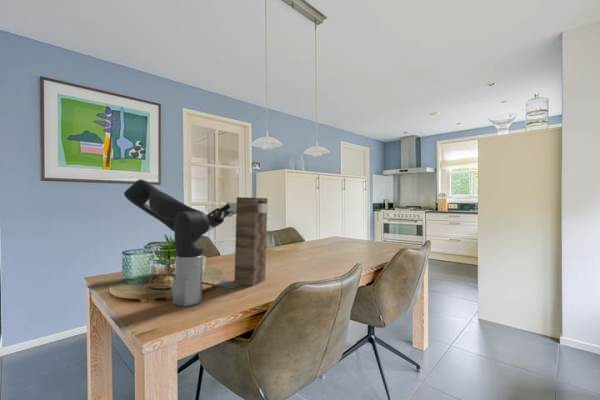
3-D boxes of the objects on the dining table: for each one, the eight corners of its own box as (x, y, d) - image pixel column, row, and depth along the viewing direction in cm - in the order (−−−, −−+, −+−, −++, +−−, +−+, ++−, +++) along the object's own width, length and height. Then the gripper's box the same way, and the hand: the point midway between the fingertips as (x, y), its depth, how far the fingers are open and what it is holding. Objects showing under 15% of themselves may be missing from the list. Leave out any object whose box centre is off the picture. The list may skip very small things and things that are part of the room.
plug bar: (261, 212, 123) (262, 203, 123) (225, 210, 134) (226, 202, 134) (267, 212, 126) (267, 203, 126) (231, 210, 138) (232, 202, 137)
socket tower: (253, 285, 122) (255, 198, 122) (234, 282, 126) (236, 197, 126) (265, 280, 131) (267, 198, 131) (247, 277, 135) (249, 197, 135)
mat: (232, 288, 117) (232, 287, 117) (187, 280, 127) (187, 279, 127) (242, 284, 124) (242, 283, 124) (198, 276, 134) (198, 275, 134)
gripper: (198, 214, 132) (222, 198, 126) (218, 213, 145) (241, 198, 139) (204, 228, 130) (228, 212, 125) (223, 226, 144) (247, 211, 138)
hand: (235, 205), depth 132 cm, fingers open, 8 cm apart
